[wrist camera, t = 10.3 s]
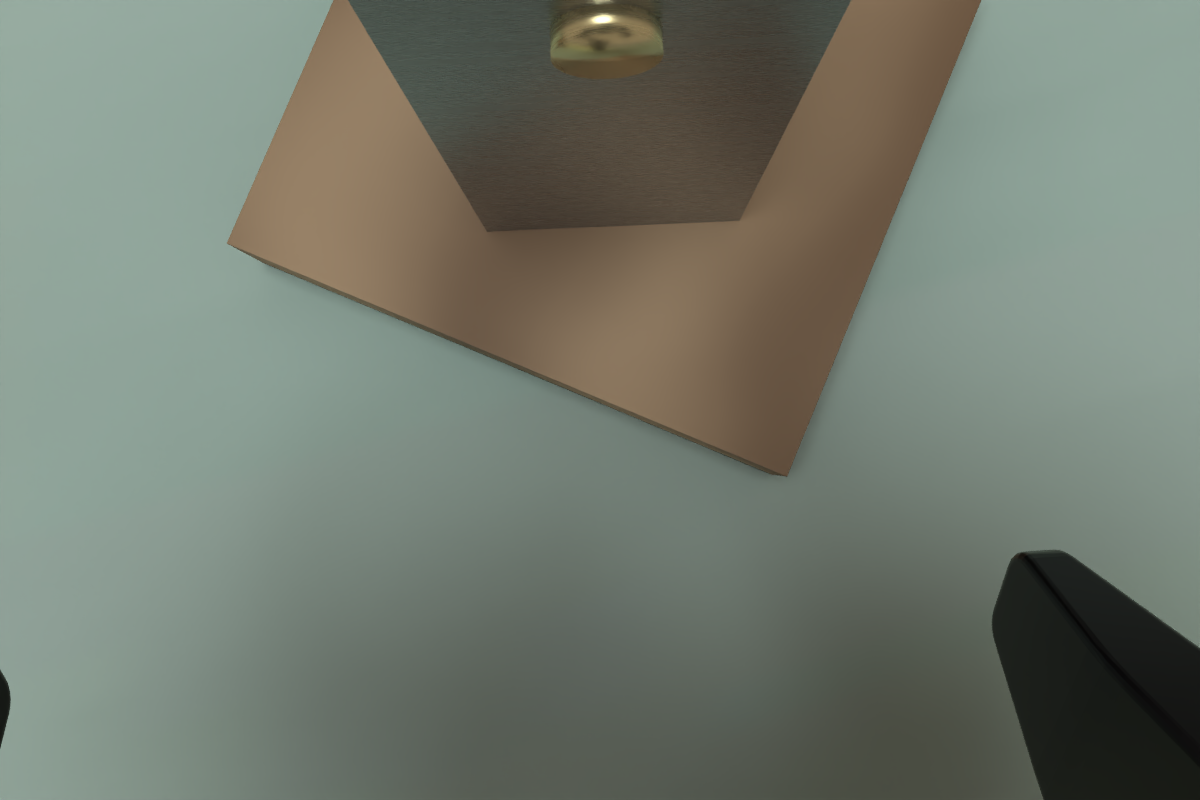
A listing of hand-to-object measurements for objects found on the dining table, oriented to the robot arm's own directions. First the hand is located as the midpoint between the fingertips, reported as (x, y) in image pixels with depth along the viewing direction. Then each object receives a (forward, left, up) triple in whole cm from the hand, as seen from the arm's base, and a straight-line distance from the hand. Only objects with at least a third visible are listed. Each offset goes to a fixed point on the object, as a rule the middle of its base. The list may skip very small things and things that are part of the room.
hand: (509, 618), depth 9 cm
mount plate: (+3, -8, -12) cm, 15 cm away
